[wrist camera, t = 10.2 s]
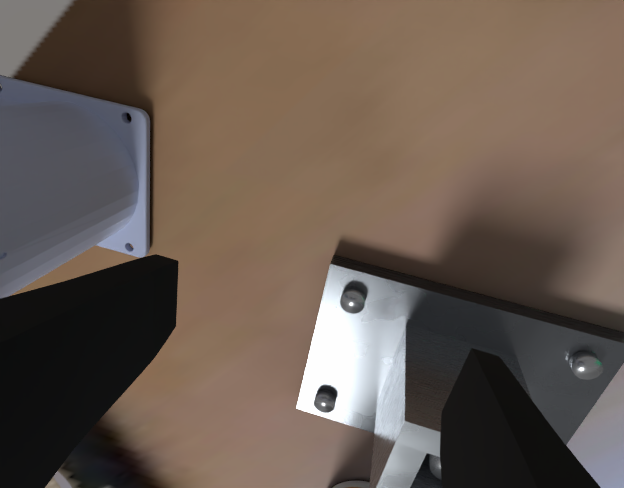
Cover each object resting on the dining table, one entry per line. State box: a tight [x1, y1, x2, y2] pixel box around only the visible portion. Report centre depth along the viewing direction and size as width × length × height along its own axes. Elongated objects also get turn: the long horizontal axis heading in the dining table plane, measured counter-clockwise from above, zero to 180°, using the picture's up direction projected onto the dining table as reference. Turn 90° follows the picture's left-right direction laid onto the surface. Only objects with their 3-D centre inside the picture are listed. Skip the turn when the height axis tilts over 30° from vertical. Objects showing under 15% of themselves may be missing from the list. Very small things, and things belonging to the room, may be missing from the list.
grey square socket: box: [369, 325, 532, 488], centre depth 18 cm, size 5×5×6 cm
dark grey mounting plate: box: [296, 255, 624, 480], centre depth 19 cm, size 14×10×6 cm
